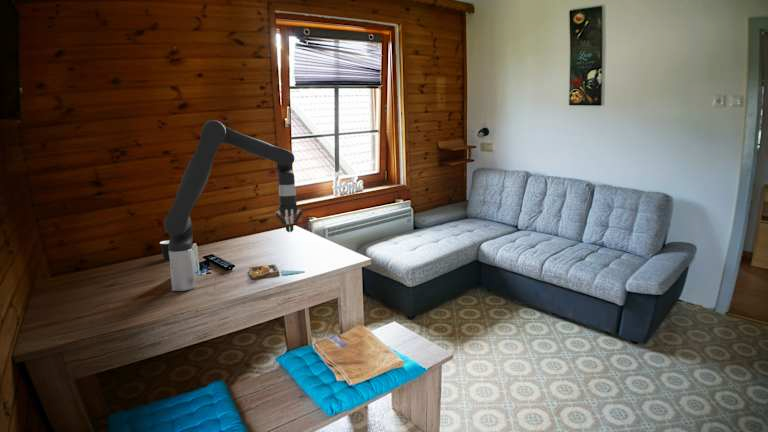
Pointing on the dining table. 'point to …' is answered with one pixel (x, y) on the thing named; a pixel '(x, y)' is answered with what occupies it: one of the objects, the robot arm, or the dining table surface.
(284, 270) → the teal pad
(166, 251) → the dixie cup
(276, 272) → the brown wooden frame
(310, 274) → the dining table surface
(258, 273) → the figurine
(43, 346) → the dining table surface
